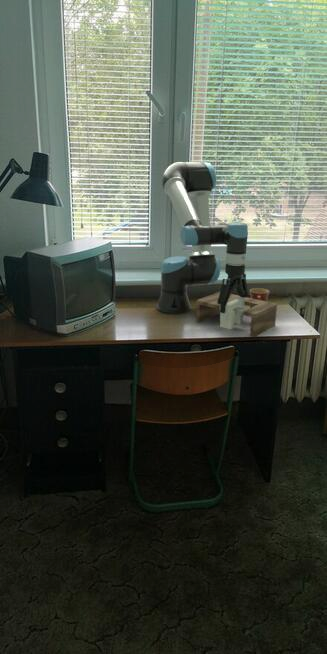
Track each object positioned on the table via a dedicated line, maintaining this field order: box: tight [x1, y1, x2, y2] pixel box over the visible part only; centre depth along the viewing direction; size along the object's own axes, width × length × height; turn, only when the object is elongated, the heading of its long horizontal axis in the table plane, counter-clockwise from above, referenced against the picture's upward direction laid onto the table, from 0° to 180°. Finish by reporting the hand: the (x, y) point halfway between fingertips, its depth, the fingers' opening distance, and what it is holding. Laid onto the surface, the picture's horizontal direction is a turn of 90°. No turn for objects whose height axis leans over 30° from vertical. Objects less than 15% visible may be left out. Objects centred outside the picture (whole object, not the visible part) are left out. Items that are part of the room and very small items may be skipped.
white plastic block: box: [219, 299, 245, 330], centre depth 196 cm, size 5×9×10 cm, turn 141°
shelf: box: [195, 290, 278, 338], centre depth 204 cm, size 28×18×10 cm, turn 51°
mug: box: [249, 287, 271, 308], centre depth 217 cm, size 12×9×10 cm
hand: (232, 316), depth 196 cm, fingers open, 12 cm apart
